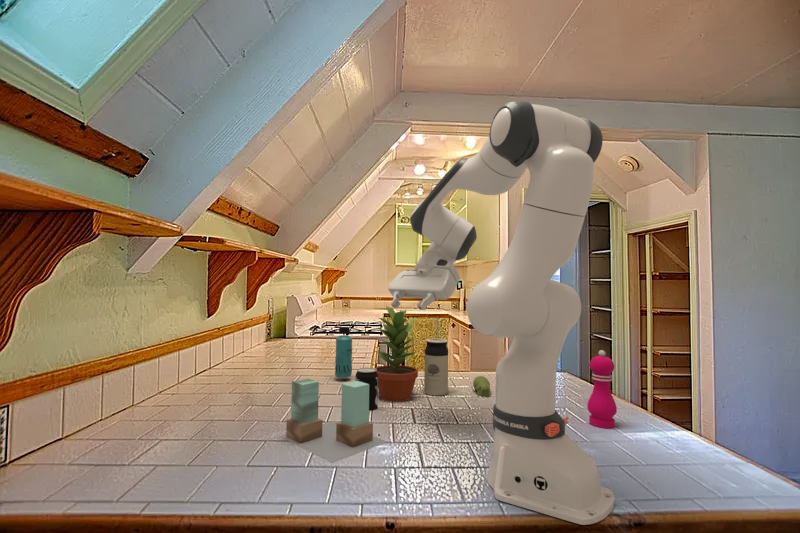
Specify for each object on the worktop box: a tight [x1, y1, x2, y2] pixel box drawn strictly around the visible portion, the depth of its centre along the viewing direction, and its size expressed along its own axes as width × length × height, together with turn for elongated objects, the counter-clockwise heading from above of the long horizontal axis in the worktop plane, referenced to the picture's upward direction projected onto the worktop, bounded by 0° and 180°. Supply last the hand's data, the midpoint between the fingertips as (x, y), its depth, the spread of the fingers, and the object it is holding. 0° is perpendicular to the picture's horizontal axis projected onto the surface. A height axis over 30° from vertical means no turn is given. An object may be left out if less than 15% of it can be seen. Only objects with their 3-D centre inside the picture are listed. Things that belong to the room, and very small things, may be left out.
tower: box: [285, 378, 323, 444], centre depth 101 cm, size 6×6×13 cm
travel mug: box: [423, 337, 449, 397], centre depth 145 cm, size 8×8×18 cm
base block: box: [336, 421, 374, 447], centre depth 99 cm, size 6×6×4 cm
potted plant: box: [375, 304, 419, 402], centre depth 140 cm, size 15×15×30 cm
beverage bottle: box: [334, 326, 353, 379], centre depth 162 cm, size 6×7×20 cm
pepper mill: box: [587, 349, 618, 429], centre depth 116 cm, size 7×7×20 cm
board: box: [280, 420, 388, 464], centre depth 100 cm, size 20×16×1 cm
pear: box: [472, 375, 492, 397], centre depth 146 cm, size 6×5×10 cm
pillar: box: [340, 380, 370, 428], centre depth 100 cm, size 4×4×9 cm
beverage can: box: [354, 367, 379, 412], centre depth 125 cm, size 7×7×12 cm
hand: (406, 307), depth 111 cm, fingers open, 8 cm apart
